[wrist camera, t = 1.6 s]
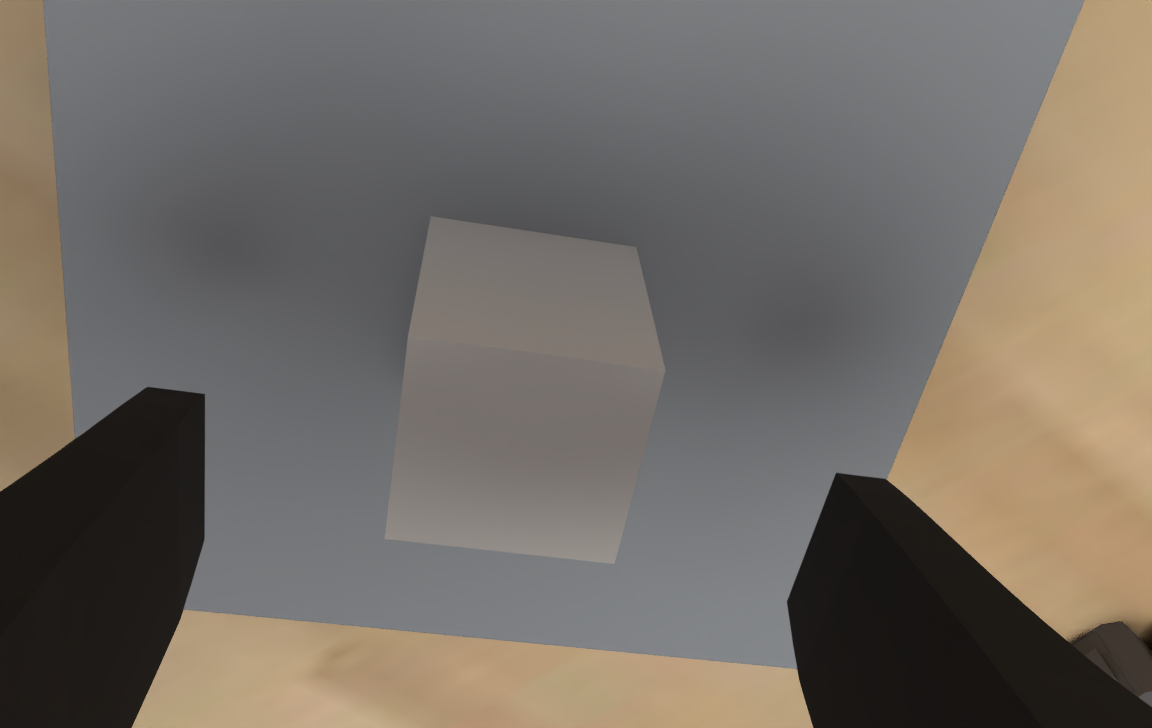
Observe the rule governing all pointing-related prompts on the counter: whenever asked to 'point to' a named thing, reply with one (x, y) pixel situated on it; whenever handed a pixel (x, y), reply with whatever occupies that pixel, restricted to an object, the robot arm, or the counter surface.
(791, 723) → the counter surface
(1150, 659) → the walkie-talkie
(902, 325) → the lid
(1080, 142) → the counter surface
